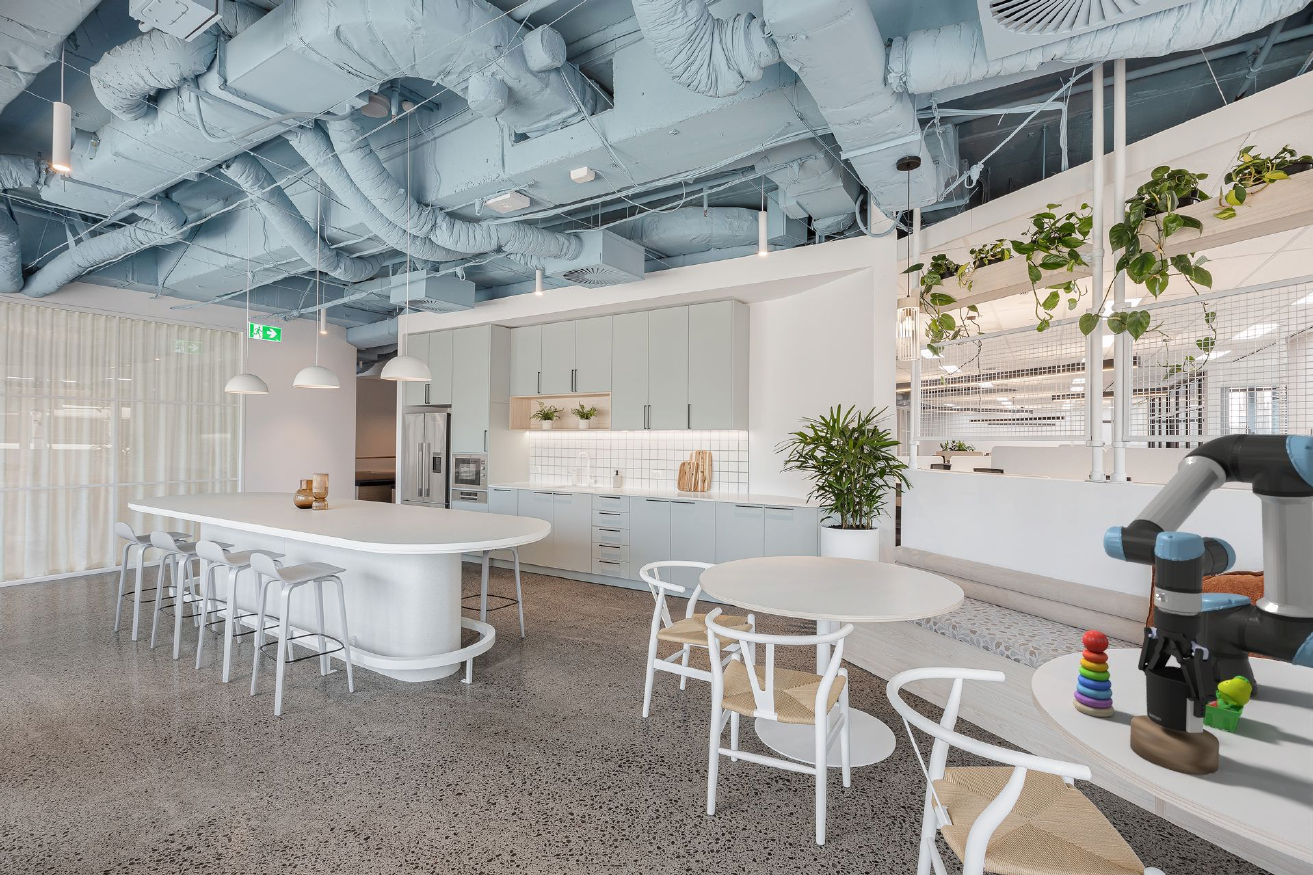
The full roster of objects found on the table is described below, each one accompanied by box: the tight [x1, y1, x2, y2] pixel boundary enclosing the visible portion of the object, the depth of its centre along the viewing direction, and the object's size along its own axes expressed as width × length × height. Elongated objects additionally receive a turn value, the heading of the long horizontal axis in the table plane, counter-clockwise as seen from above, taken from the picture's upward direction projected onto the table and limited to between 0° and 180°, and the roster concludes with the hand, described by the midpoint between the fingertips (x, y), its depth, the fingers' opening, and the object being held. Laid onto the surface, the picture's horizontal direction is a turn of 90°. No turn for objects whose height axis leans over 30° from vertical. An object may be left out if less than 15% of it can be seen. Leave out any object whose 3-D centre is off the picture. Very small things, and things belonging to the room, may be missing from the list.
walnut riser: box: [1129, 714, 1220, 775], centre depth 132 cm, size 14×14×5 cm
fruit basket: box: [1203, 676, 1252, 733], centre depth 146 cm, size 11×9×11 cm
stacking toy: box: [1072, 629, 1115, 718], centre depth 152 cm, size 8×8×19 cm
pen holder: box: [1145, 665, 1199, 732], centre depth 132 cm, size 9×9×10 cm
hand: (1173, 719), depth 132 cm, fingers closed on pen holder, 9 cm apart
